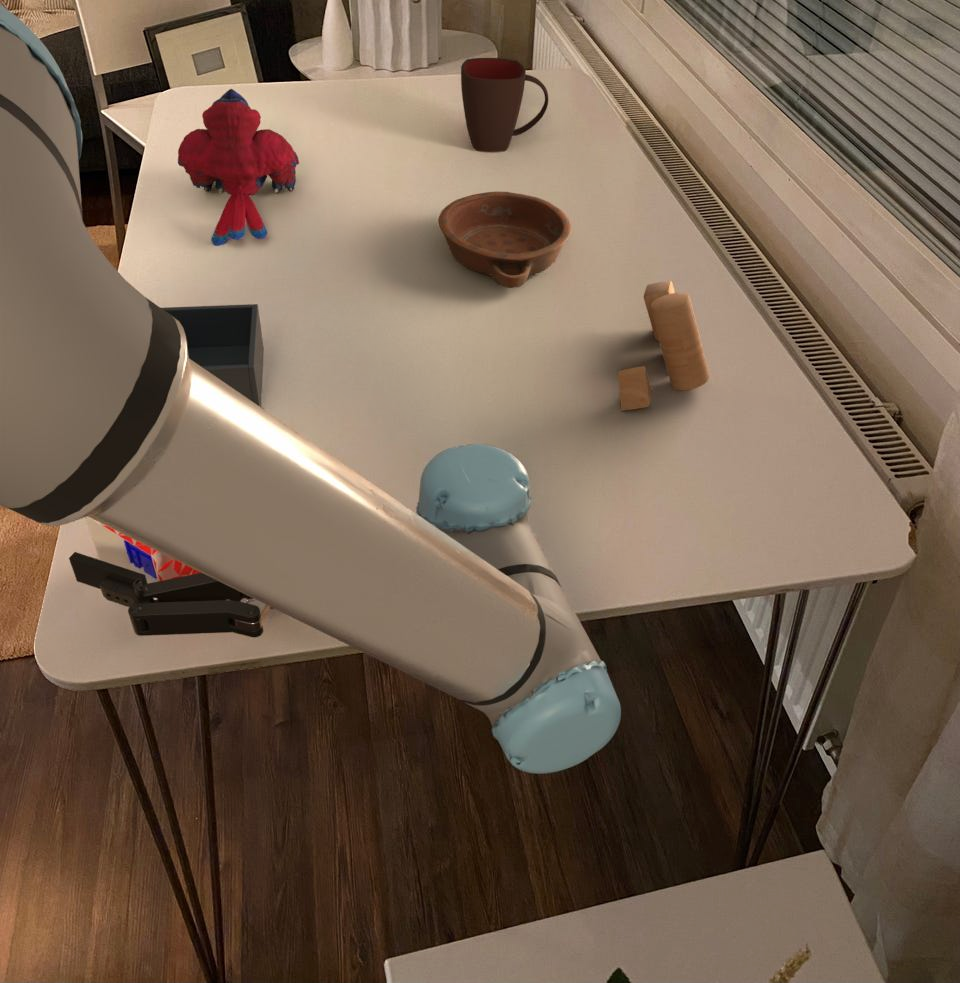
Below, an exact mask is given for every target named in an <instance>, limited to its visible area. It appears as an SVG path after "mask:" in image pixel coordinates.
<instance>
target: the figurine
mask: <svg viewBox="0 0 960 983" xmlns="http://www.w3.org/2000/svg"><path fill="white" fill-rule="evenodd" d="M201 118H202V123H203V124H204V125H203V126H204V128H196V129H194V130H192V131H190V132H189V133H187V134H186V135H185V136H184V137H183V139H182V141H181V143H180V144H179V147H178V150H177V164H178V165H179V166H180V167H182V168H184V170H185V173H186V174H188V176H189V179H190V181H191V184H192V186H193V187H196V188H197V189H201V187H202V188H203V191H205V192H210V191H211V190H212V189H213V186H214V188H215V189H216V190H217V191H218V193H220V194H222V193H224V192H225V193H226V194H228V195H229V198H228V199H227V201H226V203H225V206H224V208H223V209H222V212H221V214H220V217H219V220H218V221H217V223H216V226H215V228H214V231H213V233H212V236H211V239H210V242H211V243H212V244H213V245H214V246H216V247H219V246H223V245H224V244H226V243H227V241H228V239H229V238H230V239H231V240H233V241H238V240H241V239H243V238H244V237H245V234H246V225H247V227H248V230H249V232H250V234H251V236H252V238H254V239H257V240H262V239H265V238H266V237H267V236H268V234H269V233H268V230H267V228H266V225H265V223H264V221H263V218H262V217H261V215H260V212H259V210H258V208H257V206H256V204H255V202H254V200H253V199H252V198H251V196H255V195H256V194H258V193H259V191H260V190H261V189H262V188H263V186H264V184H265V182H266V180H267V179H268V177H269V178H270V179H271V187H272V190H273V192H274V193H275V194H278V193H280V192H281V191H282V189H283V188H284V187H285V189H287V191H289V192H293V191H294V189H295V186H296V182H297V179H296V178H297V176H296V168H297V165H299V164H300V160H299V156H298V155H297V153H296V152H295V150H294V148H293V146H292V145H291V144H290V143H289V141H288V140H287V139H286V138H285V137H284V136H283V135H281V134H279V133H278V132H276V131H273V130H272V129H270V128H267V129H259V127H260V125H261V114H260V112H259V111H258V110H257V109H254V108H251V107H250V105H249V103H248V101H247V100H246V99H245V97H244V96H243V95H241V94H240V93H238V92H237V91H236V90H234V89H233V88H229V89H228V90H227V91H226V92H225V93H223V94H222V95H221V96H220V98H218V99H216V100H215V101H213V103H212V104H211V106H209V107H208V108H207V109H204V111H202V114H201Z"/></svg>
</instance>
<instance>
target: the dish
mask: <svg viewBox="0 0 960 983" xmlns="http://www.w3.org/2000/svg"><path fill="white" fill-rule="evenodd" d="M437 219H438V220H437V223H438V228H439V229H440V231H441V233H442V234H443V236H444V239H445V241H446V242H445V243H446V244H447V248H448V249H449V251H450V253H451V255H452V257H453V258H454V259H455V260H456V261H457V262H458V263H460V264H461V265H463V266H464V267H466V268H468V269H470V270H473V271H475V272H477V273H480V274H484V275H488V276H491V277H492V279H493V280H494V281H495V283H497V284H498V285H500V286H502V287H504V288H509V289H513V288H514V289H515V288H519V287H521V286H523V285H524V284H526V282H527V280H528V277H529V276H531V275H535V274H538V273H541V272H543V271H545V270H546V269H548V268H549V267H550V266H551V265H552V264H553V263H554V262H555V261H556V260H557V259H558V256H559V255H560V252H561V251H562V248H563V246H564V244H565V243H566V242H567V241H568V239H569V238H570V236H571V232H572V224H571V221H570V219H569V217H568V216H567V215H566V213H564V211H563V210H562V209H561V208H559V207H558V206H556V205H554V204H553V203H551V202H549V201H547V200H546V199H542V198H540V197H537V196H533V195H529V194H523V193H516V192H511V191H488V192H479V193H474V194H471V195H467V196H463V197H461V198H457V199H455V200H453V201H452V202H450V203H449V204H447V205H446V206H445V207H444V208H443V209H442V210H441V212H440V214H439V216H438V218H437Z"/></svg>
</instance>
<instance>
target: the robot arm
mask: <svg viewBox="0 0 960 983" xmlns="http://www.w3.org/2000/svg"><path fill="white" fill-rule="evenodd" d="M54 58H55V57H54V56H53V55H52V54H51V52H50V51H49V49H48V48H47V47H46V45H45V44H44V43H43V42H42V40H41V39H40V38H39V37H38V35H36V33H34V31H33V30H32V29H31V28H30V27H29V26H27V24H25V22H23V21H22V20H21V19H20V18H19V17H17V15H15V14H14V13H13V12H12V11H10V10H8V9H7V8H6V7H4V6H3V5H2V4H0V506H1V507H3V508H6V509H8V510H11V511H12V512H15V513H16V514H19V515H20V516H23V517H25V518H28V519H30V520H32V521H34V522H36V523H38V524H40V525H43V526H47V527H59V526H63V525H67V524H70V523H73V522H76V521H79V520H81V519H84V518H86V517H89V518H92V519H94V520H96V521H98V522H100V523H102V524H104V525H106V526H108V527H110V528H112V529H114V530H116V531H118V532H120V533H122V534H124V535H126V536H128V537H130V538H132V539H134V540H136V541H138V542H140V543H142V544H144V545H146V546H148V547H150V548H152V549H154V550H156V551H159V552H161V553H163V554H165V555H167V556H169V557H171V558H173V559H175V560H177V561H179V562H181V563H183V564H185V565H187V566H189V567H191V568H193V569H195V570H197V571H199V572H201V573H197V574H192V575H187V576H183V577H178V578H173V579H168V580H163V581H158V582H153V583H147V580H146V576H145V575H144V574H141V573H138V572H135V571H132V570H129V569H126V568H123V567H120V566H117V565H114V564H111V563H107V562H104V561H101V560H99V558H95V557H93V556H89V555H86V554H83V553H80V552H77V551H74V552H73V553H72V554H71V555H70V556H69V557H68V560H69V563H70V565H71V568H72V571H73V575H74V577H75V581H76V582H78V583H81V584H84V585H87V586H89V587H93V588H96V589H99V590H100V591H101V593H102V596H103V598H104V599H105V600H106V601H109V602H111V603H115V604H119V605H121V606H124V607H128V609H127V613H128V616H129V620H130V622H131V626H132V629H133V632H134V634H135V635H136V636H139V637H145V636H147V637H149V636H170V635H171V636H174V635H175V636H176V635H197V634H222V633H223V634H224V633H225V634H226V633H234V634H237V635H242V636H246V637H248V638H249V637H250V638H259V637H261V636H262V635H263V634H264V626H263V622H264V621H265V618H266V617H267V615H268V613H269V612H270V609H271V610H272V609H274V610H276V611H279V612H281V613H282V614H285V615H286V616H288V617H291V618H293V619H294V620H297V621H299V622H301V623H303V624H305V625H307V626H309V627H311V628H313V629H315V630H317V631H319V632H321V633H323V634H325V635H327V636H329V637H331V638H333V639H335V640H338V641H339V642H341V643H343V644H346V645H347V646H350V647H351V648H354V649H356V650H358V651H359V652H362V653H364V654H366V655H367V656H370V657H372V658H373V659H376V660H378V661H380V662H382V663H384V664H386V665H388V666H390V667H392V668H393V669H396V670H398V671H400V672H402V673H405V674H406V675H408V676H411V677H412V678H415V679H417V680H418V681H420V682H422V683H424V684H426V685H429V686H430V687H433V688H435V689H437V690H439V691H441V692H443V693H445V694H447V695H449V696H451V697H453V698H455V699H457V700H459V701H461V702H463V703H464V704H466V705H468V706H470V707H472V708H474V709H476V710H478V711H480V712H482V713H484V714H485V716H486V717H487V718H488V720H489V722H490V725H491V733H492V736H493V738H494V739H495V740H497V742H498V743H499V746H500V747H501V749H502V752H503V753H504V756H505V757H506V759H507V760H508V762H509V763H510V764H511V765H512V766H513V767H514V768H516V769H517V770H519V771H521V772H525V773H529V774H538V775H539V774H551V773H557V772H561V771H563V770H568V769H569V768H572V767H574V766H577V765H580V764H581V763H583V762H585V761H587V760H588V759H589V758H590V757H592V756H593V755H594V754H596V753H597V752H599V751H600V750H602V749H603V748H604V747H605V746H606V745H608V743H609V742H610V741H611V740H612V738H613V737H614V736H615V734H616V732H617V730H618V728H619V725H620V722H621V716H622V708H621V703H620V700H619V697H618V695H617V693H616V690H615V688H614V686H613V683H612V681H611V679H610V675H609V672H608V669H607V665H606V663H605V661H603V660H601V658H600V656H599V654H598V652H597V650H596V648H595V646H594V645H593V643H592V641H591V639H590V638H589V635H588V634H587V632H586V630H585V628H584V626H583V625H582V624H583V623H582V622H581V621H580V619H579V617H578V615H577V613H576V611H575V610H574V607H573V606H572V604H571V602H570V600H569V598H568V596H567V594H566V593H565V591H564V589H563V587H562V584H561V583H560V581H559V579H558V577H557V575H556V573H555V571H554V569H553V567H552V565H551V563H550V561H549V559H548V558H547V556H546V553H545V552H544V549H543V548H542V546H541V543H540V542H539V540H538V538H537V536H536V534H535V533H534V531H533V529H532V526H531V524H530V521H529V516H528V512H529V510H530V509H531V505H532V502H531V501H532V498H531V496H530V478H529V474H528V471H527V470H526V467H525V466H524V465H523V463H522V461H520V460H519V459H518V458H517V457H516V456H514V455H513V454H512V453H510V452H508V451H507V450H504V449H502V448H500V447H496V446H493V445H488V444H483V443H468V444H466V445H459V446H452V447H449V448H446V449H444V450H442V451H440V452H439V453H437V454H436V455H434V456H433V457H432V458H431V459H430V460H429V461H428V463H427V464H426V465H425V466H424V468H423V471H422V473H421V477H420V484H419V494H418V501H417V504H416V505H417V506H415V508H416V512H414V511H413V510H412V509H410V508H409V507H407V506H406V505H404V504H403V503H402V502H400V501H398V500H397V499H395V498H394V497H393V496H391V495H389V494H388V493H386V492H385V491H384V490H383V489H381V488H379V487H378V486H377V485H375V484H373V483H372V482H370V481H369V480H367V478H365V477H364V476H361V475H360V474H359V473H357V472H356V471H355V470H353V469H352V468H350V467H349V466H347V465H346V464H345V463H343V462H341V461H340V460H338V459H337V458H336V457H334V456H333V455H331V454H329V453H328V452H327V451H325V450H324V449H322V448H321V447H319V446H318V445H317V444H315V443H313V442H312V441H311V440H309V439H308V438H306V437H305V436H303V435H302V434H300V433H299V432H298V431H296V430H295V429H293V428H291V427H290V426H289V425H287V424H286V423H284V422H283V421H281V419H278V418H277V417H276V416H274V415H273V414H272V413H270V412H268V411H267V410H266V409H264V408H263V407H262V406H261V407H259V406H258V405H256V404H255V403H254V402H252V401H251V400H249V399H248V398H246V397H245V396H243V395H242V394H240V393H239V392H237V391H236V390H235V389H233V388H232V387H230V386H229V385H227V384H226V383H224V382H223V381H221V380H220V379H218V378H217V377H216V376H214V375H213V374H211V373H210V372H208V371H207V370H205V369H204V368H202V367H201V366H199V365H198V364H197V363H195V362H194V361H192V360H191V359H189V356H188V349H187V341H186V335H185V332H184V329H183V327H182V325H181V324H180V322H179V321H178V320H177V319H175V318H174V317H173V316H171V315H170V314H169V313H167V312H166V311H164V310H163V309H161V308H162V307H160V306H158V305H157V304H156V303H154V302H153V301H151V299H149V298H148V297H146V296H145V295H144V294H142V293H141V292H140V291H139V290H138V289H136V288H135V286H133V285H132V284H131V283H130V282H129V281H128V280H126V279H125V278H124V276H123V275H122V274H121V273H120V272H119V271H118V270H117V269H116V268H115V266H114V265H113V264H112V263H111V261H109V259H108V258H107V257H106V256H105V254H104V252H103V251H102V250H101V249H100V247H99V246H98V245H97V243H96V242H95V240H94V239H93V238H92V236H91V234H90V232H89V231H88V229H87V227H86V225H85V224H84V214H83V204H82V193H81V192H82V190H81V178H80V163H79V162H80V159H81V156H82V151H83V150H82V149H83V131H82V127H81V126H82V125H81V118H80V114H79V111H78V108H77V105H76V102H75V99H74V98H73V95H72V93H71V91H70V88H69V87H68V84H67V81H66V79H65V77H64V75H63V72H62V71H61V68H60V67H59V64H58V63H57V62H56V60H55V59H54ZM154 598H157V599H156V600H154Z"/></svg>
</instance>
